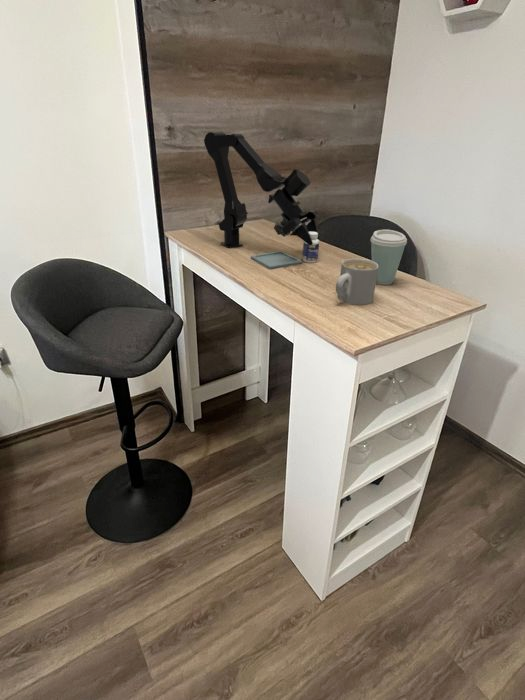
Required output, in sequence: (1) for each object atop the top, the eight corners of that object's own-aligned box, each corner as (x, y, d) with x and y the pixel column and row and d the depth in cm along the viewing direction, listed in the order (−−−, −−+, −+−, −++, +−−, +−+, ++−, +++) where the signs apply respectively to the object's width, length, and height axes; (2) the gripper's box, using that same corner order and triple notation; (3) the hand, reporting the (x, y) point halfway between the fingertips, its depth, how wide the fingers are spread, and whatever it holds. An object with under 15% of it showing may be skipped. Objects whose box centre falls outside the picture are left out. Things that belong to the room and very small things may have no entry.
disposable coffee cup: (406, 285, 130) (416, 236, 123) (377, 289, 126) (386, 239, 119) (385, 274, 139) (393, 227, 131) (357, 277, 135) (364, 230, 127)
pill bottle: (307, 263, 146) (309, 235, 141) (299, 259, 150) (301, 231, 145) (320, 261, 148) (323, 234, 143) (312, 257, 152) (314, 230, 147)
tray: (250, 258, 149) (250, 255, 149) (281, 253, 155) (281, 250, 155) (269, 269, 140) (269, 266, 139) (301, 263, 146) (302, 260, 145)
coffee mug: (357, 289, 127) (362, 256, 121) (380, 301, 119) (386, 267, 114) (320, 296, 121) (324, 263, 116) (342, 310, 113) (347, 274, 108)
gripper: (285, 215, 156) (310, 249, 157) (259, 225, 142) (287, 263, 143) (306, 195, 149) (332, 231, 150) (281, 203, 135) (310, 243, 136)
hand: (315, 242), depth 145 cm, fingers open, 6 cm apart
